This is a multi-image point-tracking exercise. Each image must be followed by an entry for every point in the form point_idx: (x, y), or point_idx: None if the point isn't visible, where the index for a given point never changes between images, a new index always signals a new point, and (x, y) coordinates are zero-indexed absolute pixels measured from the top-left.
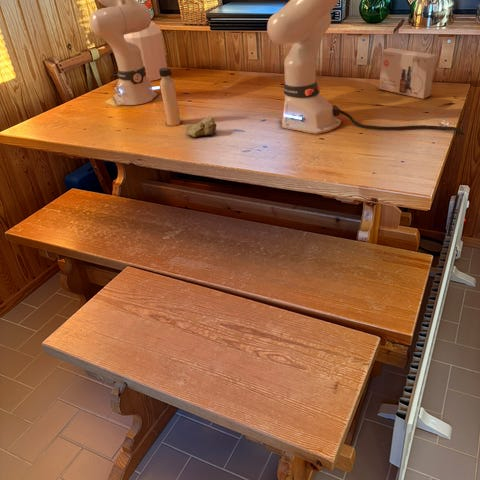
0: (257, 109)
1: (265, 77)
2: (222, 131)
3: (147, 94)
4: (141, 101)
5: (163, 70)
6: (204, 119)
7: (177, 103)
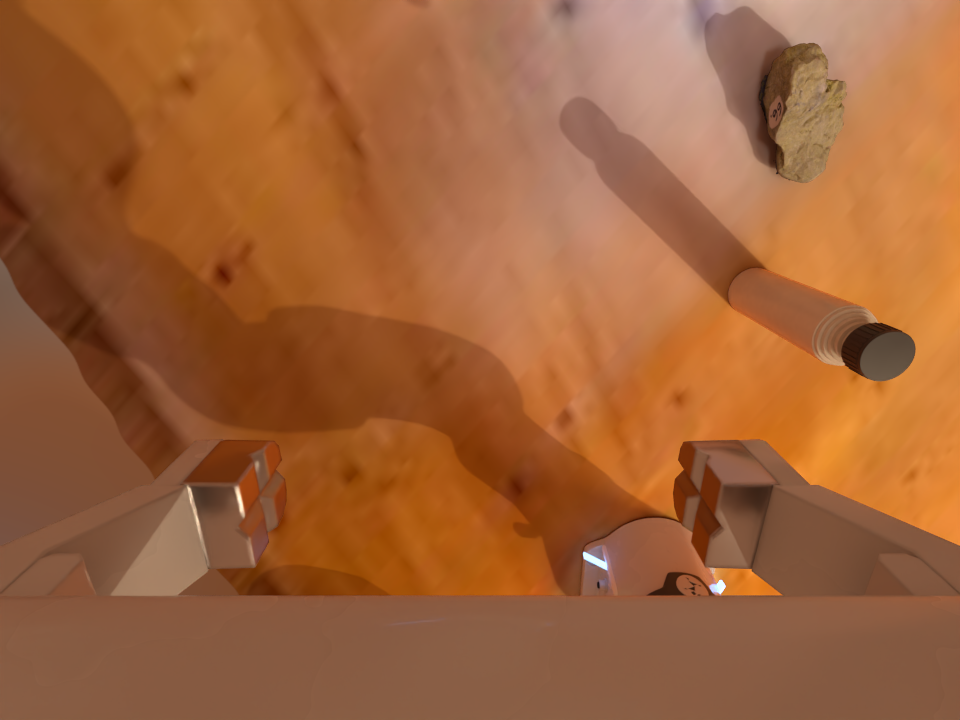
0: (487, 135)
1: (212, 396)
2: (734, 64)
3: (645, 538)
4: (670, 525)
5: (911, 340)
6: (806, 100)
7: (774, 291)
